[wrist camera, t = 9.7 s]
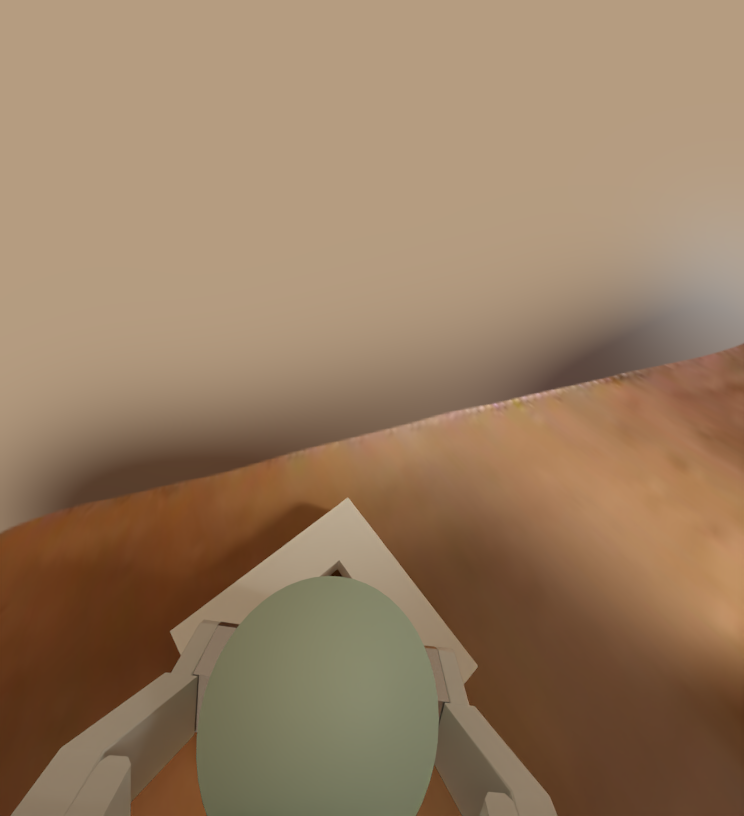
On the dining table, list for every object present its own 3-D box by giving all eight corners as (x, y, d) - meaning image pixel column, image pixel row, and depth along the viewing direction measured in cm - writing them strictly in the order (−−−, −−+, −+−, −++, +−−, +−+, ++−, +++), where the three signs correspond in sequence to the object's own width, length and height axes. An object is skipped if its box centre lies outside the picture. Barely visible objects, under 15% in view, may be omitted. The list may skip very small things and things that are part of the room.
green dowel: (334, 579, 16) (346, 533, 8) (394, 666, 15) (485, 723, 7) (251, 650, 15) (153, 688, 6) (309, 758, 13) (283, 1003, 5)
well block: (345, 514, 27) (348, 497, 23) (453, 658, 23) (478, 666, 19) (196, 629, 22) (169, 631, 18) (299, 840, 18) (292, 898, 14)
